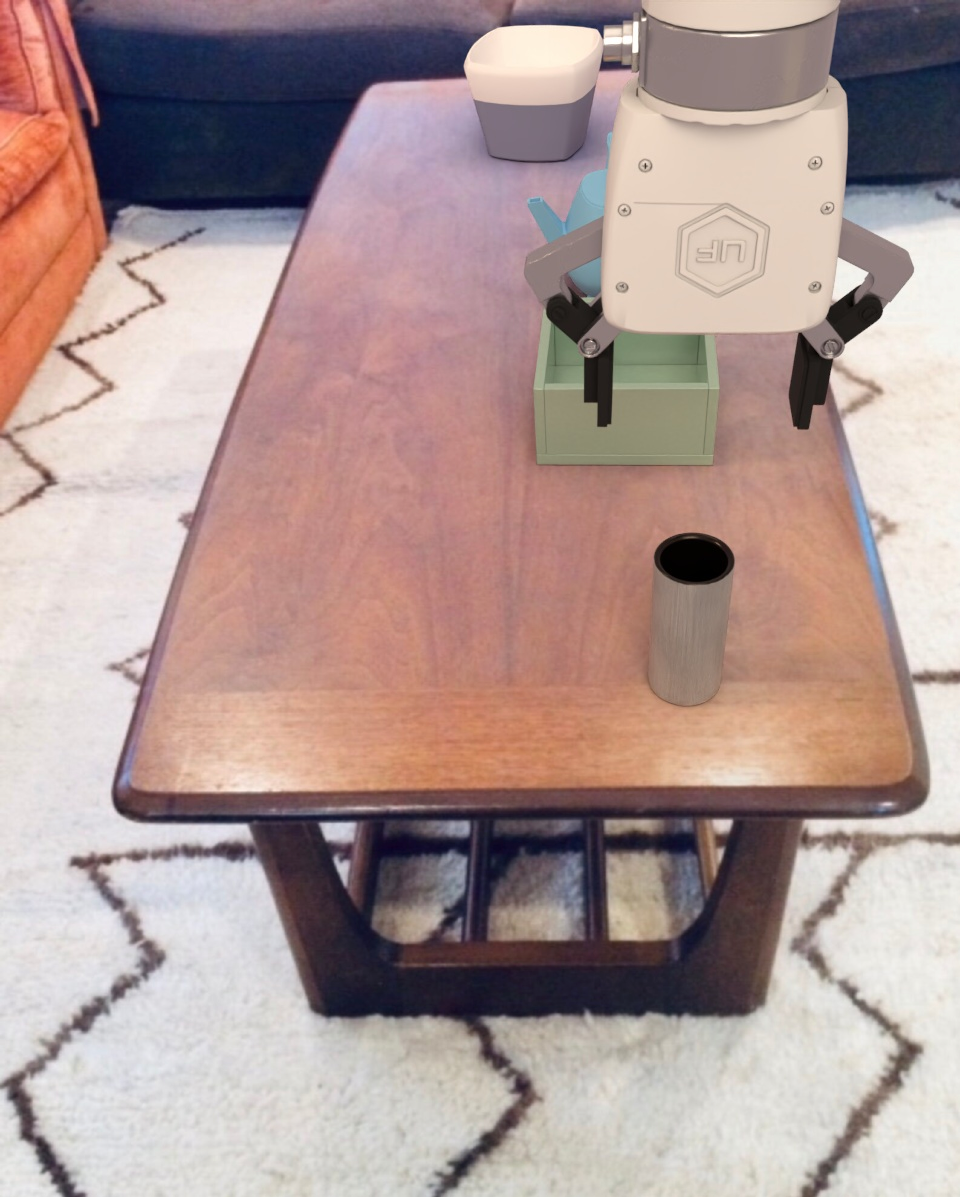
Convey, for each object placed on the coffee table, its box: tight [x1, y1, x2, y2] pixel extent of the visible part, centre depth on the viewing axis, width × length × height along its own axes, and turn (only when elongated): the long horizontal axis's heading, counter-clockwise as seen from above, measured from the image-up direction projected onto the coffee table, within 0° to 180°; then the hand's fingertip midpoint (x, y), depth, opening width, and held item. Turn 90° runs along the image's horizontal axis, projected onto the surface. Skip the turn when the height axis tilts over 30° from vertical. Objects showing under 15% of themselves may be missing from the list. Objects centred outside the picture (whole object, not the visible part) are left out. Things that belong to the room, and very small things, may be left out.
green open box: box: [532, 297, 721, 466], centre depth 88 cm, size 14×14×7 cm
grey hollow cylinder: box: [647, 532, 736, 707], centre depth 65 cm, size 4×4×10 cm
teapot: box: [526, 131, 613, 298], centre depth 102 cm, size 15×14×11 cm
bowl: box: [463, 24, 604, 162], centre depth 128 cm, size 15×15×11 cm
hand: (700, 412), depth 55 cm, fingers open, 9 cm apart
